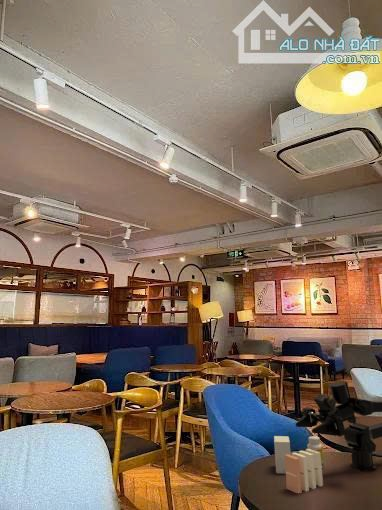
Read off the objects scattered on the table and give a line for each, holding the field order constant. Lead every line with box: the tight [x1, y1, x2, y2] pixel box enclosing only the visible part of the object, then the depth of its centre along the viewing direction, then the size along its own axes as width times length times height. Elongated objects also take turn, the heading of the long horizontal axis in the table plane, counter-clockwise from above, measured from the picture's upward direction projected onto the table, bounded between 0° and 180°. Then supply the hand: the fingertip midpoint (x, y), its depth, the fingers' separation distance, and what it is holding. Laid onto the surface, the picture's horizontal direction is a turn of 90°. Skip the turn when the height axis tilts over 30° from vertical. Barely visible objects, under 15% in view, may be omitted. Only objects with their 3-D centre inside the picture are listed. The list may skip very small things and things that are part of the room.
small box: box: [273, 435, 292, 475], centre depth 139 cm, size 8×6×10 cm
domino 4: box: [305, 448, 324, 488], centre depth 126 cm, size 1×5×10 cm, turn 31°
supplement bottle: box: [306, 435, 325, 468], centre depth 142 cm, size 5×5×10 cm
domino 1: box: [285, 454, 303, 495], centre depth 121 cm, size 1×5×10 cm, turn 31°
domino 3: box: [298, 450, 317, 490], centre depth 125 cm, size 1×5×10 cm, turn 31°
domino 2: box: [291, 452, 310, 492], centre depth 123 cm, size 1×5×10 cm, turn 32°
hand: (303, 428), depth 133 cm, fingers open, 9 cm apart
